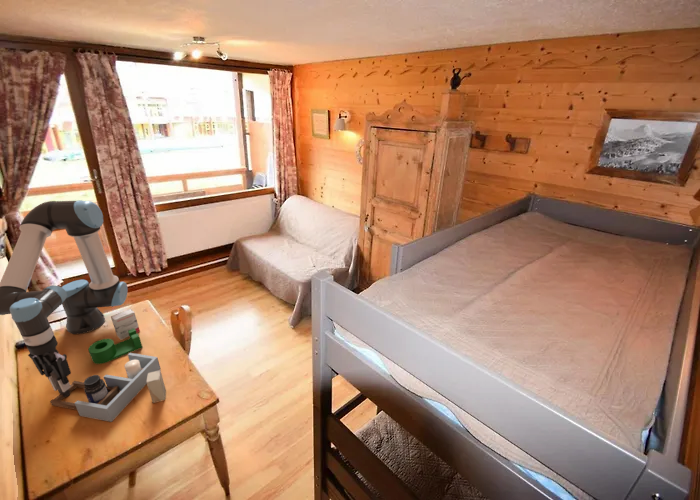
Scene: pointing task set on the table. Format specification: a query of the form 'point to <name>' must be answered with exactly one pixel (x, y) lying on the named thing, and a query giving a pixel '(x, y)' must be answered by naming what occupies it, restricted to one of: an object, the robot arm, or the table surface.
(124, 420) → the table surface
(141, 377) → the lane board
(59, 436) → the table surface
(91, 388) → the pill bottle
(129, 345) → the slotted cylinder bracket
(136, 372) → the cream canister
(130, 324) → the ink box
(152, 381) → the box
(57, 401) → the wooden frame with peg
